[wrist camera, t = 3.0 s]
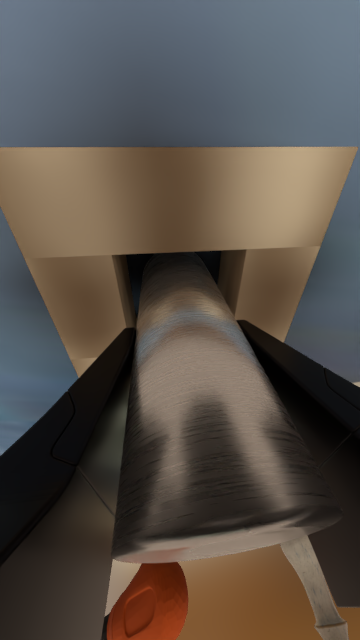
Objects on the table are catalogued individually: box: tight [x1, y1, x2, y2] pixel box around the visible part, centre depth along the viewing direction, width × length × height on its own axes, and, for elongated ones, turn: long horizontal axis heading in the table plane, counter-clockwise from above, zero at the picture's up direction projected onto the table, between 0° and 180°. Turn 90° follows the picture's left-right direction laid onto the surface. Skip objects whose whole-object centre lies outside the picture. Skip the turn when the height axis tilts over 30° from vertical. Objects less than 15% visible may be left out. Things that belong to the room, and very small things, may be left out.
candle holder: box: [280, 535, 349, 640], centre depth 29 cm, size 9×9×20 cm
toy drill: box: [101, 562, 188, 640], centre depth 25 cm, size 5×19×15 cm, turn 140°
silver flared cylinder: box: [111, 252, 344, 563], centre depth 8 cm, size 4×4×11 cm
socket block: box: [0, 147, 358, 377], centre depth 11 cm, size 12×12×4 cm
